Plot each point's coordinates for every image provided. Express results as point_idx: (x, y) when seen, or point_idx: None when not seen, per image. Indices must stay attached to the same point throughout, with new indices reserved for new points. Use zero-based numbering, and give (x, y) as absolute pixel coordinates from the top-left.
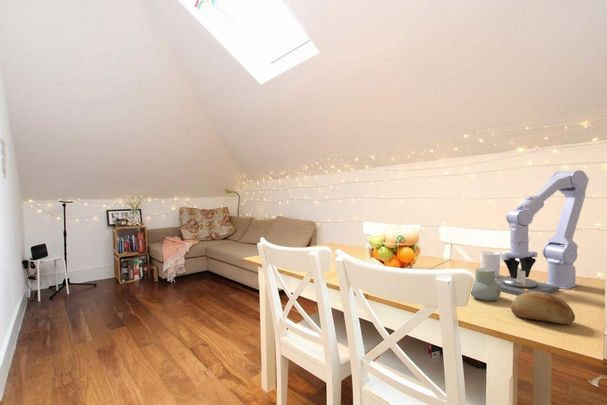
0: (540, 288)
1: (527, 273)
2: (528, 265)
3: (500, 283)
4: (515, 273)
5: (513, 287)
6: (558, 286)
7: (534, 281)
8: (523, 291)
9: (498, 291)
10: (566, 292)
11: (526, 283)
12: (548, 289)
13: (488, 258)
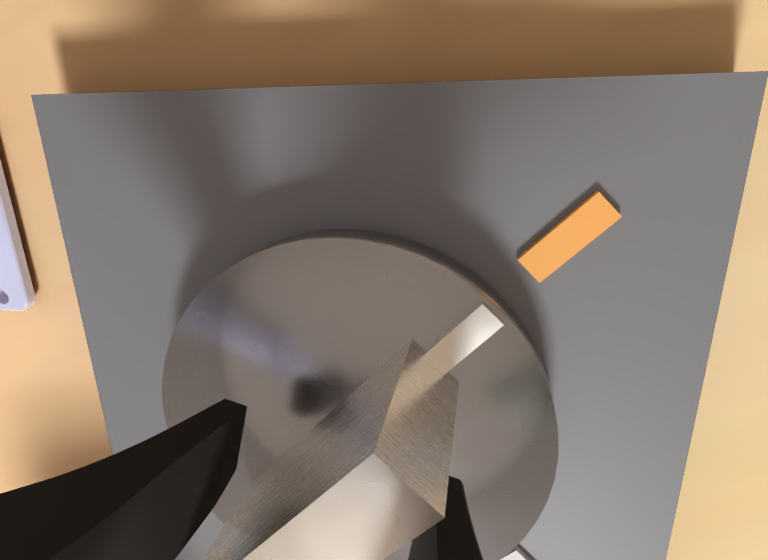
0: (317, 178)
1: (214, 438)
2: (101, 541)
3: (515, 549)
4: (477, 542)
5: (559, 398)
6: (42, 97)
7: (212, 311)
8: (672, 235)
9: None
10: (69, 6)
11: (403, 329)
12: (275, 92)
13: None
